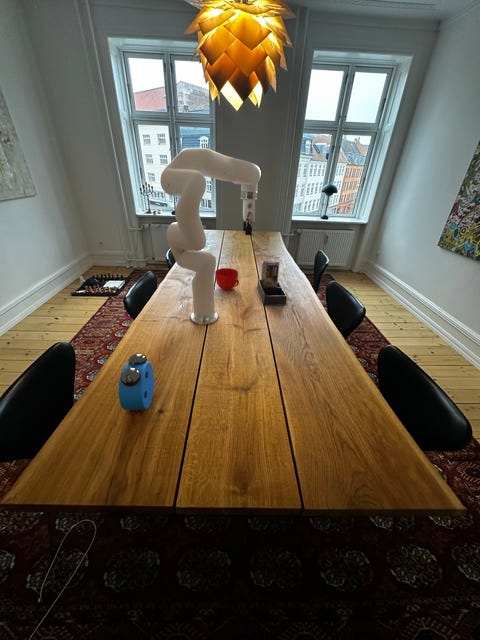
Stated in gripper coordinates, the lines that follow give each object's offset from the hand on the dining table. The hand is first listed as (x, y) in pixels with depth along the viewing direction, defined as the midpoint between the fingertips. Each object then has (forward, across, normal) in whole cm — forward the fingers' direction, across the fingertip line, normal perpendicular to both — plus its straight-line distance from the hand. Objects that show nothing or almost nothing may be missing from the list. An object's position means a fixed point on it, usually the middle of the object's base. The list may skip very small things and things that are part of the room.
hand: (247, 232), depth 130 cm
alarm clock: (+32, -79, +39) cm, 94 cm away
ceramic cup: (+32, +2, +9) cm, 34 cm away
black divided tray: (+32, -6, -14) cm, 36 cm away
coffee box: (+32, -1, -14) cm, 35 cm away
